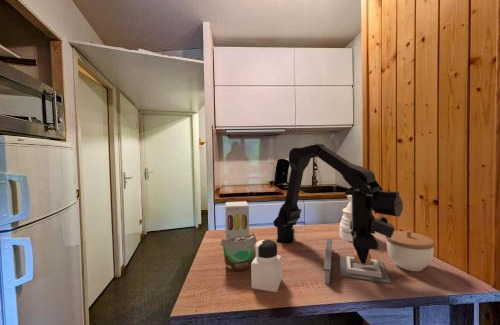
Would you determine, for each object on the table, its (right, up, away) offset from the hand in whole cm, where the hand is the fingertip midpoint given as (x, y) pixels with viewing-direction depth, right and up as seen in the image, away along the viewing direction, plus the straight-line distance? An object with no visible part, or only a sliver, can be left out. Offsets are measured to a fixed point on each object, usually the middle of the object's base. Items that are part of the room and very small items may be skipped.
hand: (362, 259), depth 72 cm
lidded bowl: (+16, -3, +2) cm, 16 cm away
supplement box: (-40, -4, +23) cm, 47 cm away
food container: (-37, -4, +3) cm, 38 cm away
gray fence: (-9, -3, +4) cm, 10 cm away
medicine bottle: (-30, -4, -7) cm, 31 cm away
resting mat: (0, -3, 0) cm, 3 cm away
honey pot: (+10, -2, +27) cm, 29 cm away
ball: (0, +1, 0) cm, 1 cm away
